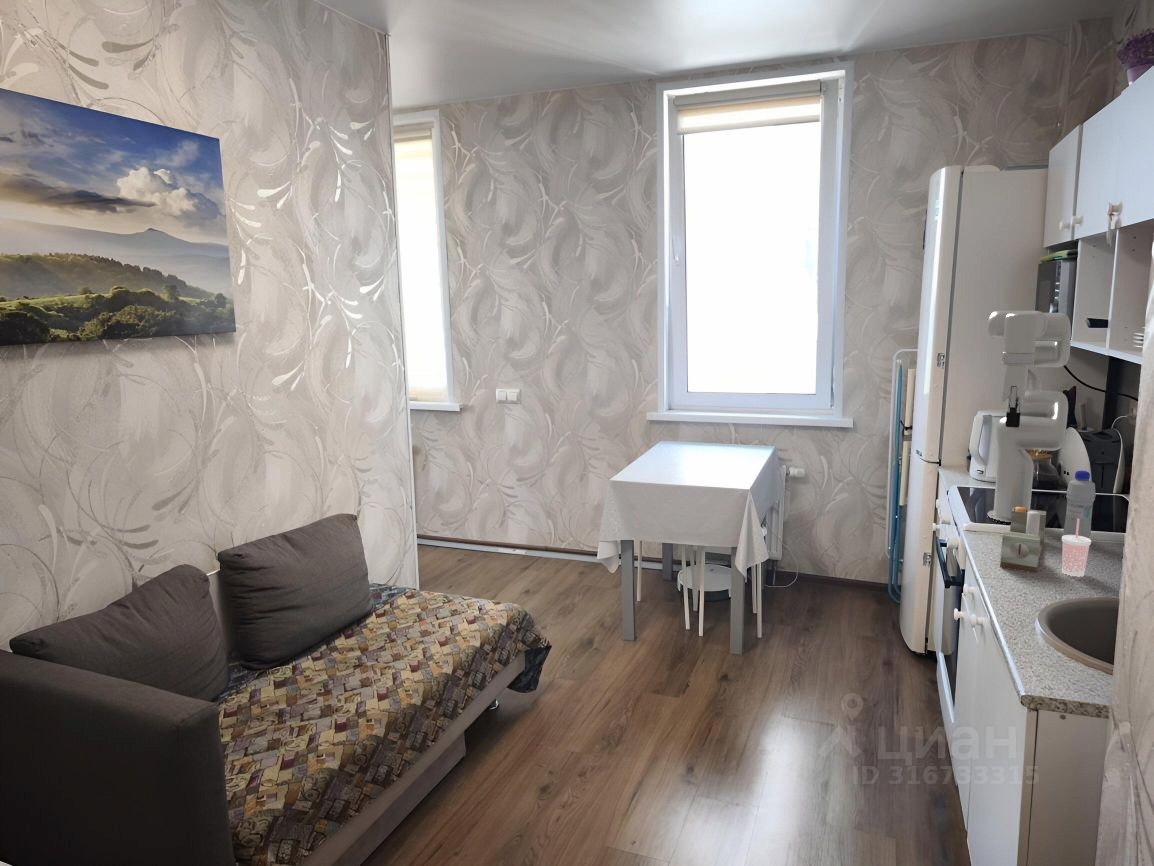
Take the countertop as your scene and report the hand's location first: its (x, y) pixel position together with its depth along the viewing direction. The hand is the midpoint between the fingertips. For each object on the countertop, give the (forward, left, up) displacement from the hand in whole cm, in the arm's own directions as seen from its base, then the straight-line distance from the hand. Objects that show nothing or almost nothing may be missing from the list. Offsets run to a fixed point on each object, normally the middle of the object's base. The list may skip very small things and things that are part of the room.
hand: (1012, 426), depth 210 cm
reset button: (-2, +4, -27) cm, 27 cm away
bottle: (-8, +17, -32) cm, 37 cm away
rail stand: (+10, +6, -32) cm, 34 cm away
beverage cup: (+20, +17, -32) cm, 42 cm away
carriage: (+16, +5, -29) cm, 34 cm away
